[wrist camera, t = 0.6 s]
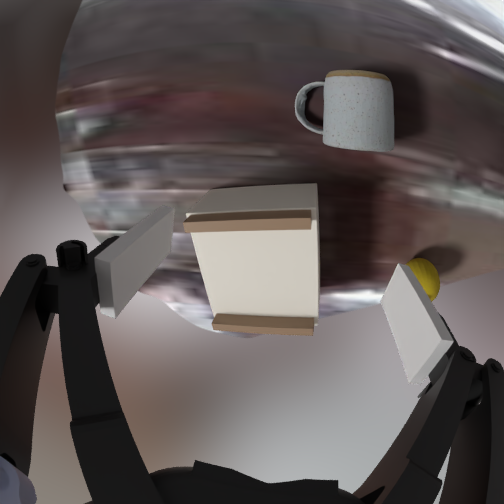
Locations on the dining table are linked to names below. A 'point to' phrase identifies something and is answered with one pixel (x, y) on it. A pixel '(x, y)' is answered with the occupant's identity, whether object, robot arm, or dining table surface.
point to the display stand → (259, 257)
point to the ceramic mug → (354, 110)
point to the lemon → (426, 276)
